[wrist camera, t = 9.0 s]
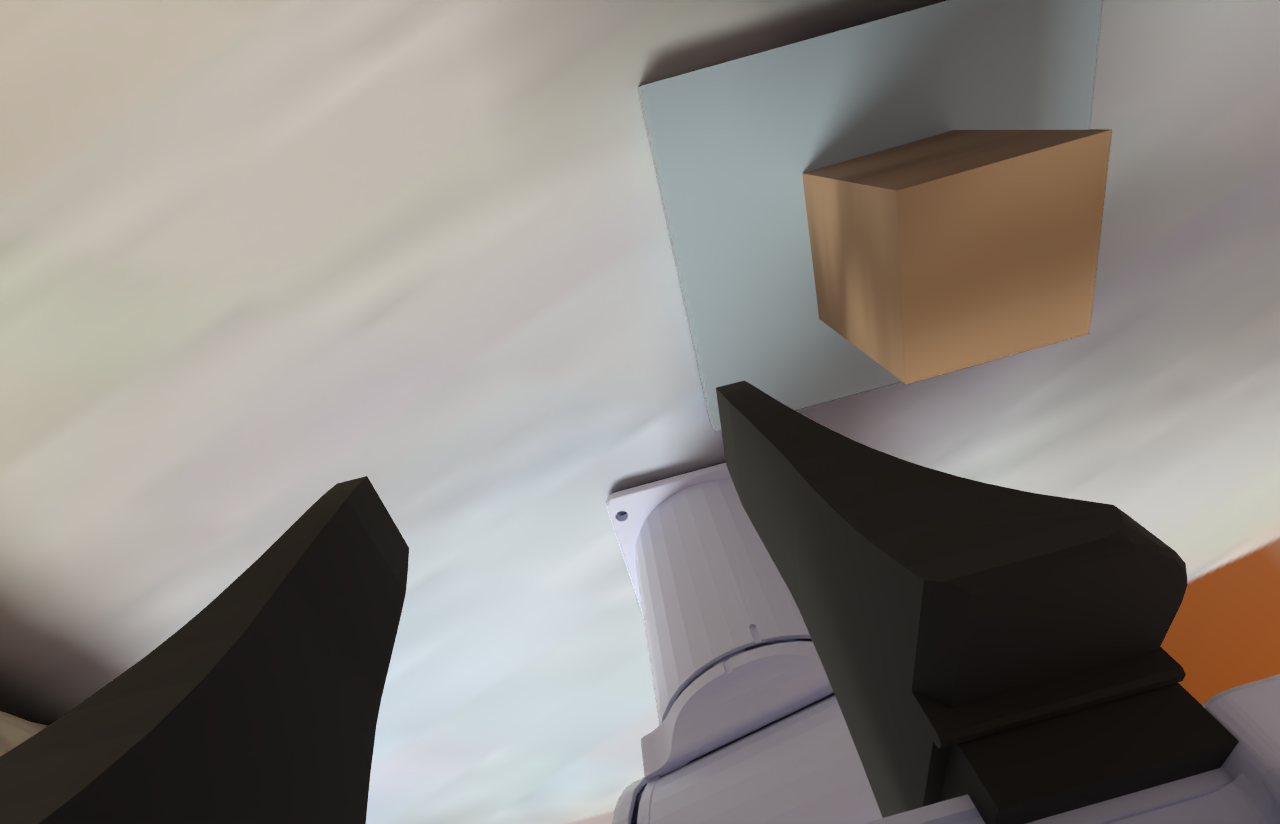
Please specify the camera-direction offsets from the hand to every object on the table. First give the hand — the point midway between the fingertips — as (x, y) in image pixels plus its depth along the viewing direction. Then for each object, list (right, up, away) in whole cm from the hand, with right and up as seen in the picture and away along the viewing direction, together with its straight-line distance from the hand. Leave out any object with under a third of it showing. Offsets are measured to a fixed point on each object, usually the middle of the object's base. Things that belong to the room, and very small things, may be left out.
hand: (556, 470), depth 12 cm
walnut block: (+10, +7, +8) cm, 15 cm away
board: (+10, +8, +9) cm, 15 cm away
